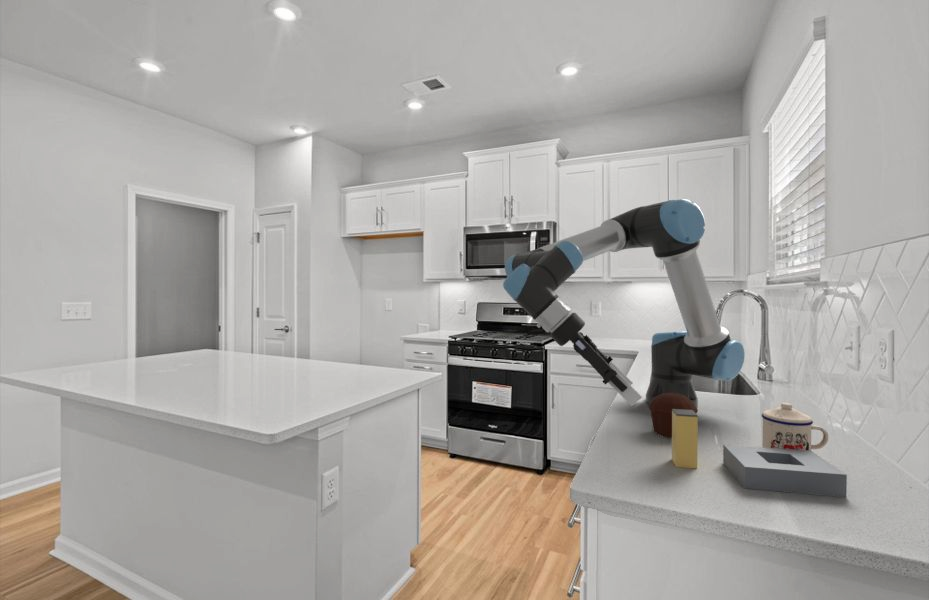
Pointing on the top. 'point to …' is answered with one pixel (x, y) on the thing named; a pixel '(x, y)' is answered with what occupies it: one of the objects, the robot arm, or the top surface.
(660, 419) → the muffin
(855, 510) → the top surface
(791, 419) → the teacup with lid
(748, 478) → the socket plate
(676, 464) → the plug
